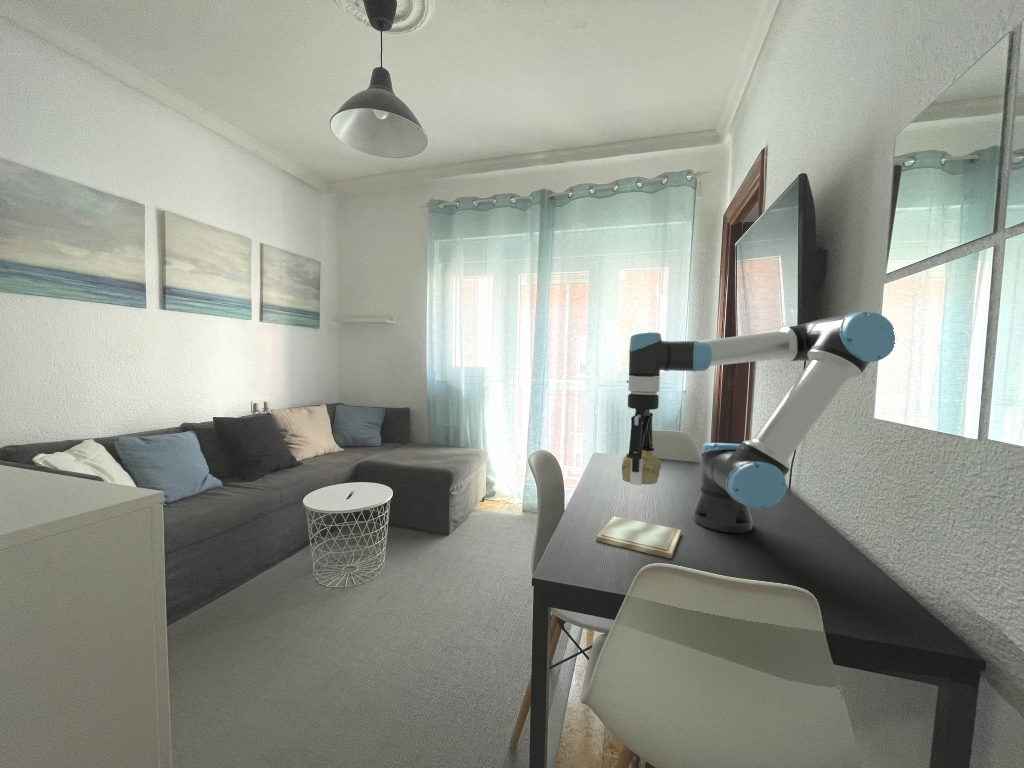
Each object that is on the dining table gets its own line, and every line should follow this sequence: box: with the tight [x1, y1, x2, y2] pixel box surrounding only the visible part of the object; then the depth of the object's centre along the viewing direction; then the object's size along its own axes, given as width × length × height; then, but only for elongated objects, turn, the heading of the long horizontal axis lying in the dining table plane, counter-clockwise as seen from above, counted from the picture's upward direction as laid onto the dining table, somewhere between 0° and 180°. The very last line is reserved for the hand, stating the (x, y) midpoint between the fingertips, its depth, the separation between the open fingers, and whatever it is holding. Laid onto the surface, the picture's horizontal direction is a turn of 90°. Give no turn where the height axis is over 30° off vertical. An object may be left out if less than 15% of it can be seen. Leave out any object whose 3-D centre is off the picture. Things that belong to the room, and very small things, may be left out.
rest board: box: [595, 516, 682, 559], centre depth 104 cm, size 18×16×1 cm
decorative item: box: [621, 450, 662, 485], centre depth 103 cm, size 10×10×10 cm
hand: (640, 479), depth 104 cm, fingers closed on decorative item, 9 cm apart
